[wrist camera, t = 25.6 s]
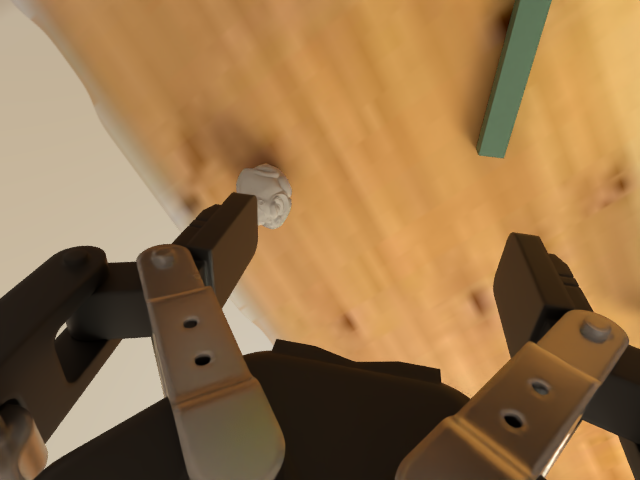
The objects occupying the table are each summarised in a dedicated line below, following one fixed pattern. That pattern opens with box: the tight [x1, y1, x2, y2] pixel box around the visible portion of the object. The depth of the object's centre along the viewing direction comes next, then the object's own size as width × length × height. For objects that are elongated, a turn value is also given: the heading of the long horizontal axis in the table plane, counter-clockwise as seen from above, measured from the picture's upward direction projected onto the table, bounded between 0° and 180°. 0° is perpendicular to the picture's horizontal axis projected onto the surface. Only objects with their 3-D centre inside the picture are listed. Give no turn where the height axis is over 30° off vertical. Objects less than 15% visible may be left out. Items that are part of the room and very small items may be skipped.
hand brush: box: [476, 0, 552, 158], centre depth 36 cm, size 24×10×3 cm, turn 176°
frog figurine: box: [236, 164, 292, 229], centre depth 46 cm, size 6×7×7 cm
